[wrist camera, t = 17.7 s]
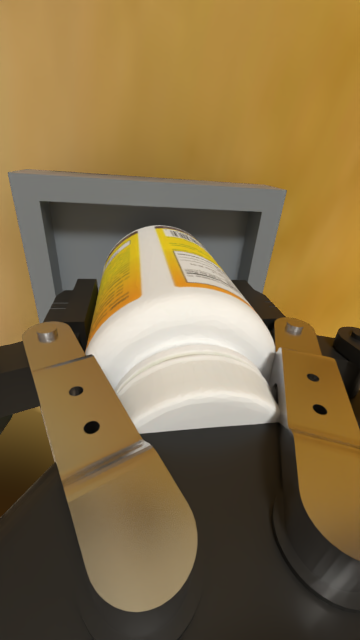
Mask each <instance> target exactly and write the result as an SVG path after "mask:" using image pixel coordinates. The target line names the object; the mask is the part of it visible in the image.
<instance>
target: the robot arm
mask: <svg viewBox="0 0 360 640" xmlns="http://www.w3.org/2000/svg"><path fill="white" fill-rule="evenodd" d="M231 281H232V283H233V284H234V285H235V286H236V288H237V289H238V290H239V291H240V293H241V294H242V295H243V296H244V298H245V299H246V300H247V301H248V303H249V304H250V305H251V306H252V308H253V309H254V310H255V312H256V313H257V314H258V315H259V317H260V318H261V319H262V321H263V322H264V324H265V325H266V327H267V329H268V330H269V332H270V334H271V336H272V339H273V341H274V345H275V355H274V361H273V365H272V369H271V374H270V378H269V382H268V385H269V386H270V389H271V392H272V395H273V397H274V399H275V401H276V403H277V404H278V406H279V409H280V416H279V422H275V423H263V424H251V425H237V426H223V427H211V428H199V429H187V430H175V431H165V432H154V433H141V434H139V432H138V431H137V429H136V427H135V425H134V424H133V422H132V420H131V419H130V417H129V415H128V413H127V412H126V410H125V408H124V407H123V405H122V403H121V401H120V400H119V398H118V396H117V395H116V393H115V391H114V389H113V388H112V386H111V384H110V383H109V381H108V379H107V377H106V376H105V374H104V372H103V370H102V369H101V367H100V365H99V364H98V362H97V360H96V358H95V357H94V356H93V355H92V354H90V355H87V356H86V355H85V350H86V346H87V341H88V337H89V333H90V328H91V323H92V319H93V315H94V310H95V306H96V301H97V296H98V284H97V279H77V282H76V284H75V287H74V289H73V290H64V291H63V292H61V293H60V294H58V295H57V296H56V298H55V299H54V301H53V304H52V305H51V307H50V309H49V311H48V313H47V315H46V317H45V319H44V321H43V323H39V324H36V325H34V326H32V327H30V328H28V329H27V330H26V331H25V332H24V333H23V335H22V340H23V341H21V342H18V343H14V344H10V345H5V346H0V434H1V433H2V431H3V430H4V428H5V427H6V425H7V424H8V422H9V421H10V419H11V417H12V415H13V414H14V413H18V412H20V411H24V410H28V409H31V408H35V407H38V406H40V409H41V413H42V416H43V420H44V423H45V428H46V431H47V435H48V439H49V442H50V446H51V450H52V454H53V457H54V461H55V463H54V464H53V465H52V466H51V467H50V468H49V469H48V470H47V471H46V472H45V473H44V474H43V475H42V476H41V477H40V478H39V479H38V480H37V481H36V482H35V483H34V484H33V485H32V486H31V487H30V488H29V489H28V490H27V491H26V492H25V493H24V494H23V495H22V496H21V497H20V498H19V499H18V500H17V501H16V502H15V503H14V504H13V505H12V506H11V508H9V510H7V511H6V513H5V514H4V515H3V516H2V517H1V518H0V640H360V329H359V328H355V327H342V328H340V329H339V330H338V332H337V335H336V337H335V338H330V337H324V336H318V335H316V333H315V330H314V328H313V327H312V326H311V325H309V324H308V323H306V322H304V321H301V320H299V319H295V318H288V317H285V316H284V315H283V314H282V313H281V312H280V311H279V309H278V308H277V307H275V305H274V304H273V303H272V302H270V300H269V299H268V298H267V297H266V296H265V295H264V294H262V293H260V292H258V291H256V290H254V289H253V288H252V287H251V286H250V285H249V283H248V282H247V281H246V280H231Z"/></svg>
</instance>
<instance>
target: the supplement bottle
mask: <svg viewBox="0 0 360 640" xmlns="http://www.w3.org/2000/svg"><path fill="white" fill-rule="evenodd" d="M90 354H92V355H93V356H94V357H95V358H96V360H97V362H98V364H99V365H100V367H101V369H102V370H103V372H104V374H105V376H106V377H107V379H108V381H109V383H110V384H111V386H112V388H113V389H114V391H115V393H116V395H117V396H118V398H119V400H120V401H121V403H122V405H123V407H124V408H125V410H126V412H127V413H128V415H129V417H130V419H131V420H132V422H133V424H134V425H135V427H136V429H137V431H138V432H139V434H141V433H154V432H165V431H175V430H187V429H199V428H211V427H223V426H237V425H251V424H263V423H275V422H279V416H280V409H279V406H278V404H277V403H276V401H275V399H274V397H273V395H272V392H271V389H270V386H269V385H268V382H269V378H270V374H271V369H272V365H273V361H274V355H275V345H274V341H273V339H272V336H271V334H270V332H269V330H268V329H267V327H266V325H265V324H264V322H263V321H262V319H261V318H260V317H259V315H258V314H257V313H256V312H255V310H254V309H253V308H252V306H251V305H250V304H249V303H248V301H247V300H246V299H245V298H244V296H243V295H242V294H241V293H240V291H239V290H238V289H237V288H236V286H235V285H234V284H233V283H232V281H231V280H230V279H229V277H228V276H227V275H226V274H225V272H224V271H223V270H222V269H221V267H220V266H219V265H218V264H217V262H216V261H215V260H214V259H213V257H212V256H211V255H210V254H209V252H208V251H207V250H206V249H205V247H204V246H203V245H202V244H201V243H200V242H199V241H198V240H197V239H196V238H195V237H193V236H192V235H191V234H189V233H187V232H185V231H183V230H181V229H178V228H175V227H171V226H163V225H155V226H148V227H144V228H141V229H138V230H135V231H133V232H131V233H130V234H128V235H126V236H125V237H124V238H122V239H121V240H120V241H119V242H118V243H117V244H116V245H115V247H114V248H113V249H112V250H111V252H110V254H109V255H108V257H107V260H106V262H105V265H104V269H103V273H102V278H101V282H100V287H99V291H98V296H97V301H96V306H95V310H94V315H93V319H92V323H91V328H90V333H89V337H88V341H87V346H86V350H85V355H86V356H87V355H90Z"/></svg>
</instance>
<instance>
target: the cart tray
mask: <svg viewBox="0 0 360 640" xmlns="http://www.w3.org/2000/svg"><path fill="white" fill-rule="evenodd" d="M8 177H9V181H10V186H11V191H12V195H13V200H14V205H15V210H16V214H17V219H18V224H19V228H20V233H21V238H22V242H23V247H24V252H25V256H26V261H27V266H28V270H29V275H30V280H31V284H32V289H33V294H34V298H35V303H36V308H37V312H38V317H39V322H40V323H43V321H44V319H45V317H46V315H47V313H48V311H49V309H50V307H51V305H52V304H53V301H54V299H55V298H56V296H57V295H58V294H60V293H61V292H63V291H64V290H73V289H74V287H75V284H76V282H77V279H97V284H98V291H99V287H100V282H101V278H102V273H103V269H104V265H105V262H106V260H107V257H108V255H109V254H110V252H111V250H112V249H113V248H114V247H115V245H116V244H117V243H118V242H119V241H120V240H121V239H122V238H124V237H125V236H126V235H128V234H130V233H131V232H133V231H135V230H138V229H141V228H144V227H148V226H155V225H163V226H171V227H175V228H178V229H181V230H183V231H185V232H187V233H189V234H191V235H192V236H193V237H195V238H196V239H197V240H198V241H199V242H200V243H201V244H202V245H203V246H204V247H205V249H206V250H207V251H208V252H209V254H210V255H211V256H212V257H213V259H214V260H215V261H216V262H217V264H218V265H219V266H220V267H221V269H222V270H223V271H224V272H225V274H226V275H227V276H228V277H229V279H230V280H246V281H247V282H248V283H249V285H250V286H251V287H252V288H253V289H254V290H256V291H258V292H260V293H262V292H263V288H264V284H265V280H266V275H267V271H268V267H269V263H270V259H271V254H272V250H273V246H274V242H275V238H276V234H277V229H278V225H279V221H280V217H281V213H282V208H283V204H284V200H285V196H286V192H287V190H284V189H279V188H275V187H271V186H267V185H258V184H243V183H228V182H212V181H197V180H182V179H167V178H152V177H137V176H122V175H107V174H92V173H77V172H62V171H47V170H32V169H25V170H19V171H13V172H8Z"/></svg>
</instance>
